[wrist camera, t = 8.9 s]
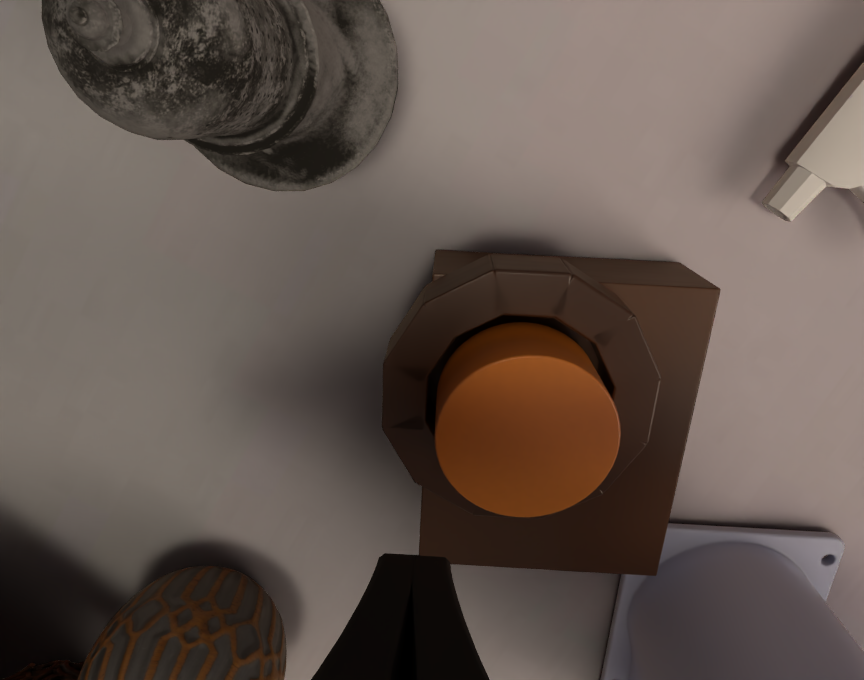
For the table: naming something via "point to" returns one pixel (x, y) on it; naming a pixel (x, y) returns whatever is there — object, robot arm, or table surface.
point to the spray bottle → (825, 154)
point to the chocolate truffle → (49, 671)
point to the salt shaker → (237, 78)
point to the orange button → (524, 421)
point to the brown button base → (615, 364)
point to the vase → (192, 631)
